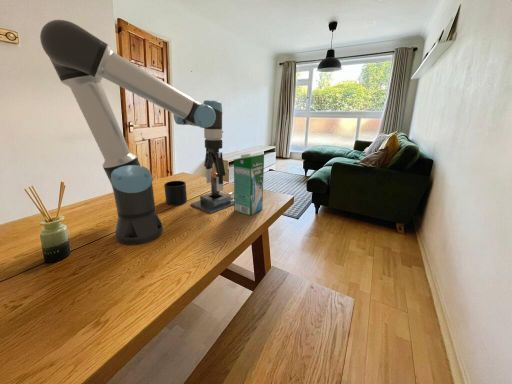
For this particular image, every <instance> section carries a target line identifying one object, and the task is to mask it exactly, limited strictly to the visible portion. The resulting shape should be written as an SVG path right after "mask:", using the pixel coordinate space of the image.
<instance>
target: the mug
mask: <svg viewBox="0 0 512 384" xmlns="http://www.w3.org/2000/svg"><path fill="white" fill-rule="evenodd" d="M164 195H165V203H166V204H167V205H168V206H180V205H183V204H185V203H187V201H188V199H187V198H188V197H187V196H188V195H187V185H186V181H183V180H171V181H167V182H165V183H164Z"/></svg>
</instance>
